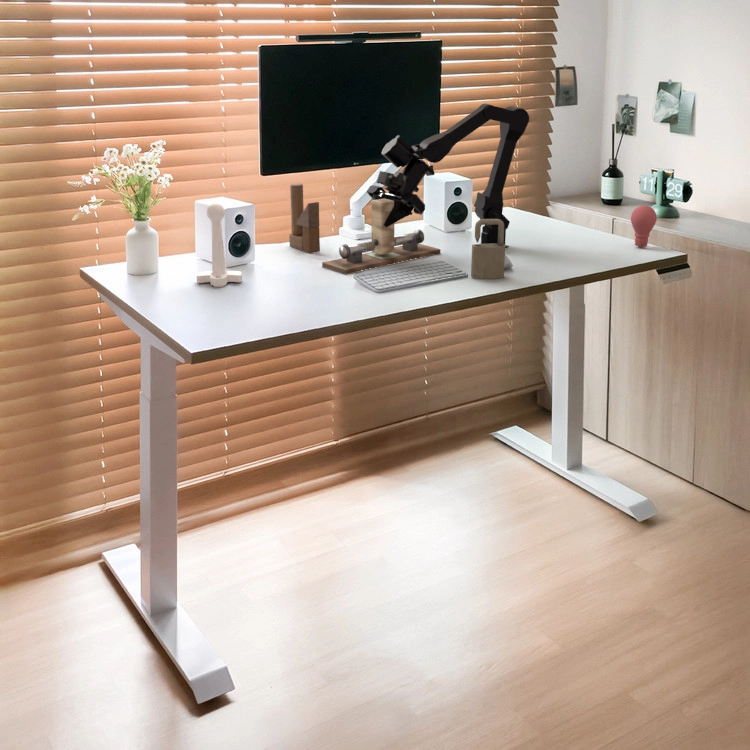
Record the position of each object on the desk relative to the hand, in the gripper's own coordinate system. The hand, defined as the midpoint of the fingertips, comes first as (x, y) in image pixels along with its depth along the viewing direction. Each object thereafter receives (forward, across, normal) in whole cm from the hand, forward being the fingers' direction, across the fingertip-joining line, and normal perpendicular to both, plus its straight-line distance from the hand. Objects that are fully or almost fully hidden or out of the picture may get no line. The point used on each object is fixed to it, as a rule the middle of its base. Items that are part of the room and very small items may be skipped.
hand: (379, 224), depth 263 cm
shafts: (+5, 0, +7) cm, 9 cm away
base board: (+6, 0, +8) cm, 10 cm away
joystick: (+39, -9, -25) cm, 47 cm away
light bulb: (-40, +37, +55) cm, 77 cm away
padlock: (0, +30, +15) cm, 34 cm away
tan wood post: (+4, 0, +6) cm, 8 cm away
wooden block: (+13, -24, +2) cm, 27 cm away
